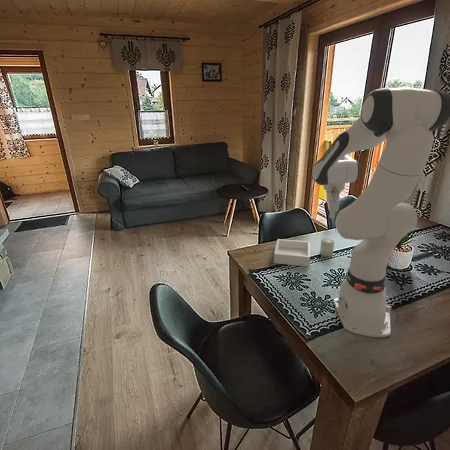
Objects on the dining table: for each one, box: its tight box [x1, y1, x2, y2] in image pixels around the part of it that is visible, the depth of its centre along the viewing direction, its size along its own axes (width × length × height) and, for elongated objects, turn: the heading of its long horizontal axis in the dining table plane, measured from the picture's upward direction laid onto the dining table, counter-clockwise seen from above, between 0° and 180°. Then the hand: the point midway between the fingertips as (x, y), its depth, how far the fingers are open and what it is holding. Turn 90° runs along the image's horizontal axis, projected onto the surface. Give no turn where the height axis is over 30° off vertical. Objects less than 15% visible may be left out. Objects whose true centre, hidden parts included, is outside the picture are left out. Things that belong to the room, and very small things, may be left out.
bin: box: [273, 238, 311, 268], centre depth 138 cm, size 16×16×5 cm
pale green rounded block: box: [319, 238, 335, 258], centre depth 139 cm, size 6×6×7 cm
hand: (330, 214), depth 133 cm, fingers open, 8 cm apart
